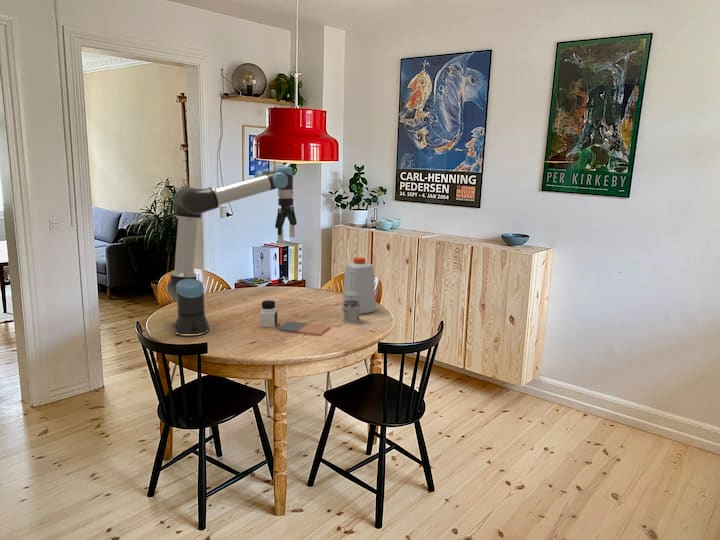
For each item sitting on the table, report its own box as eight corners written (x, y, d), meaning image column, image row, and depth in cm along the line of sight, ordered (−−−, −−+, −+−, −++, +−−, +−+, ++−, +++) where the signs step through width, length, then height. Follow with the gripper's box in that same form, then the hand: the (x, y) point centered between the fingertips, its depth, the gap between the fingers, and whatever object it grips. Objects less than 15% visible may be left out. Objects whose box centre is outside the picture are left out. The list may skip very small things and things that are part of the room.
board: (320, 336, 246) (320, 333, 245) (276, 330, 252) (276, 328, 252) (330, 328, 257) (330, 326, 257) (287, 323, 264) (287, 321, 263)
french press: (343, 324, 262) (344, 274, 257) (338, 317, 273) (338, 269, 268) (363, 323, 265) (364, 273, 260) (357, 316, 276) (357, 268, 271)
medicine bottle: (275, 327, 257) (274, 303, 254) (259, 327, 257) (259, 302, 254) (277, 323, 264) (277, 299, 261) (262, 322, 264) (262, 298, 261)
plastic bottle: (362, 305, 297) (363, 254, 291) (378, 312, 284) (379, 259, 278) (339, 309, 289) (339, 257, 283) (354, 316, 276) (354, 262, 270)
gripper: (281, 199, 263) (282, 243, 268) (302, 196, 287) (303, 236, 291) (267, 199, 266) (268, 242, 270) (289, 195, 289) (290, 235, 293)
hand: (286, 239), depth 281 cm, fingers open, 13 cm apart
